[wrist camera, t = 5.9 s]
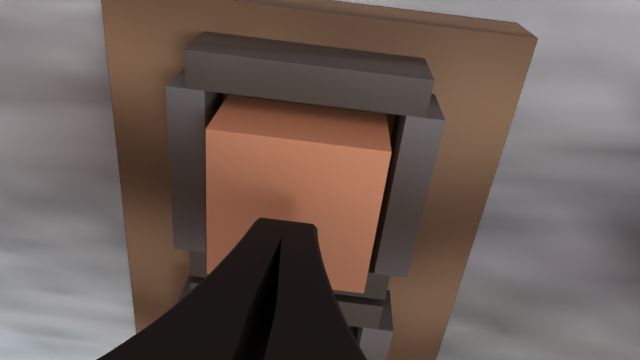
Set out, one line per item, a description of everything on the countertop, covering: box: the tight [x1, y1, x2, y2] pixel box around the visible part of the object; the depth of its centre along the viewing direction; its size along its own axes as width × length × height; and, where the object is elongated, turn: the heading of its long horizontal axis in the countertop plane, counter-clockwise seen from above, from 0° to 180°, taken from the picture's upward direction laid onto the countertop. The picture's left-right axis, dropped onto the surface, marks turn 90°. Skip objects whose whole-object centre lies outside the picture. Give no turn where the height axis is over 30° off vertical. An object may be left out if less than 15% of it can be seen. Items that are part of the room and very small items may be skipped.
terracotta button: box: [206, 95, 392, 293], centre depth 14 cm, size 4×4×2 cm
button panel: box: [101, 0, 538, 360], centre depth 19 cm, size 24×12×4 cm, turn 174°
